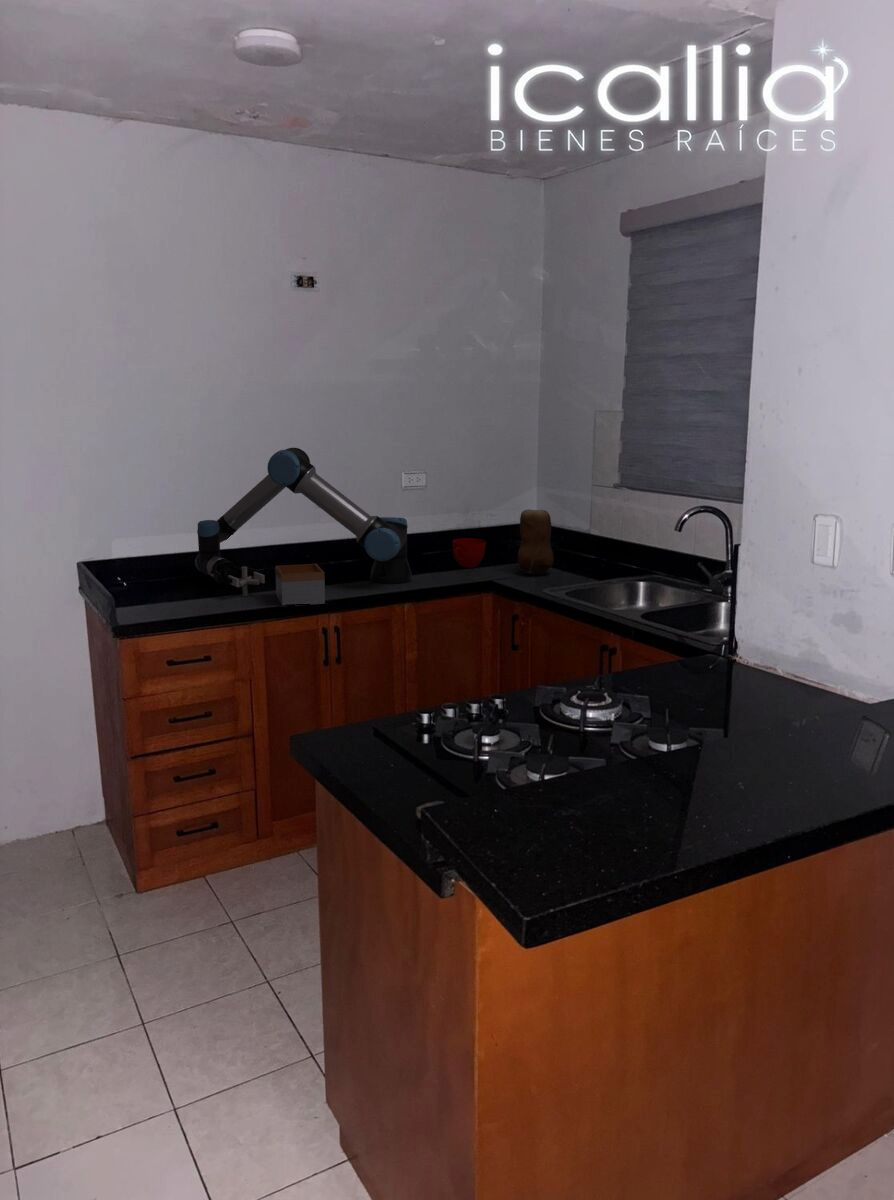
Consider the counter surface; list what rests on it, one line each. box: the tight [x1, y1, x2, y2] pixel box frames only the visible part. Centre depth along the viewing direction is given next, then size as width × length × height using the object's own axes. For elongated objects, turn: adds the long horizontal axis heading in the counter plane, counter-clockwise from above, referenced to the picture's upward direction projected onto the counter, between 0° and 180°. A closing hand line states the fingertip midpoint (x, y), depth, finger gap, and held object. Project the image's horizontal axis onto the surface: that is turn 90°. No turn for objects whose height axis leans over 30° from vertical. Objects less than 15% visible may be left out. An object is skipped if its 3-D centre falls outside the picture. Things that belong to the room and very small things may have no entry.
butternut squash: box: [517, 508, 555, 576], centre depth 354 cm, size 14×13×25 cm
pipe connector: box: [238, 566, 260, 597], centre depth 316 cm, size 10×10×10 cm
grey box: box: [275, 563, 326, 606], centre depth 312 cm, size 14×14×10 cm
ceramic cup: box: [452, 537, 487, 569], centre depth 367 cm, size 13×17×10 cm
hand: (250, 581), depth 312 cm, fingers closed on pipe connector, 9 cm apart
